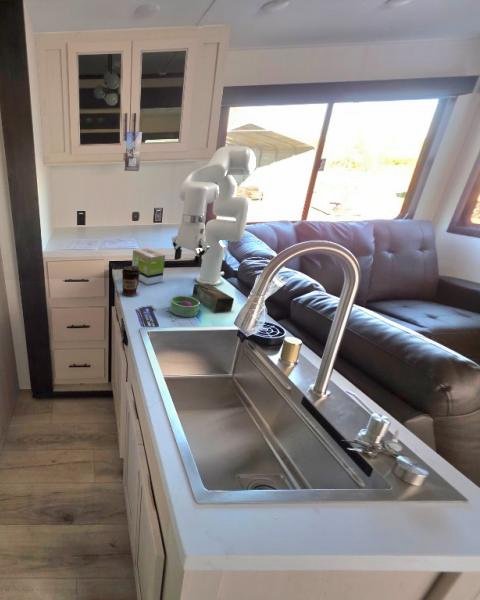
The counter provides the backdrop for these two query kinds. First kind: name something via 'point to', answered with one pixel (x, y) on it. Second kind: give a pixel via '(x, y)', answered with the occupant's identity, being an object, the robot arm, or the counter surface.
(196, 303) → the bowl
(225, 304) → the brown wooden block
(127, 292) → the coffee cup
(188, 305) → the ball
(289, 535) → the counter surface
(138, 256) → the tea box
